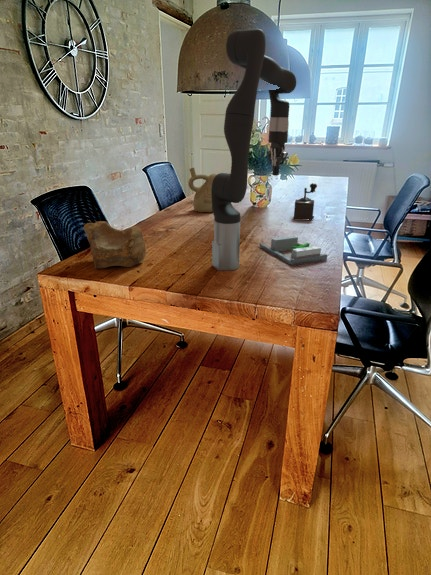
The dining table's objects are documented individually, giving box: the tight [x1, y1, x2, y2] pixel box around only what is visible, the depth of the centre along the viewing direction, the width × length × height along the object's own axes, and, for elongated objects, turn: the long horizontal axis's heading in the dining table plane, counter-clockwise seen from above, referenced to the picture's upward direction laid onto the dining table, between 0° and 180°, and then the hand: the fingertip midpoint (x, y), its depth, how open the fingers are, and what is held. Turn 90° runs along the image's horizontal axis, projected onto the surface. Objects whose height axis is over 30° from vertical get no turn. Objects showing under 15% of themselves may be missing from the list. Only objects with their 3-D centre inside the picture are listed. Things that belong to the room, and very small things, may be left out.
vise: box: [259, 242, 328, 267], centre depth 154 cm, size 16×25×5 cm, turn 23°
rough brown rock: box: [83, 220, 147, 270], centre depth 138 cm, size 23×17×15 cm
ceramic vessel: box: [187, 167, 217, 213], centre depth 223 cm, size 17×20×25 cm
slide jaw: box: [270, 235, 299, 252], centre depth 158 cm, size 11×3×5 cm, turn 113°
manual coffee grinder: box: [293, 183, 318, 221], centre depth 211 cm, size 16×11×18 cm
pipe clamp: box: [290, 242, 311, 258], centre depth 151 cm, size 11×4×5 cm, turn 143°
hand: (275, 175), depth 157 cm, fingers closed
